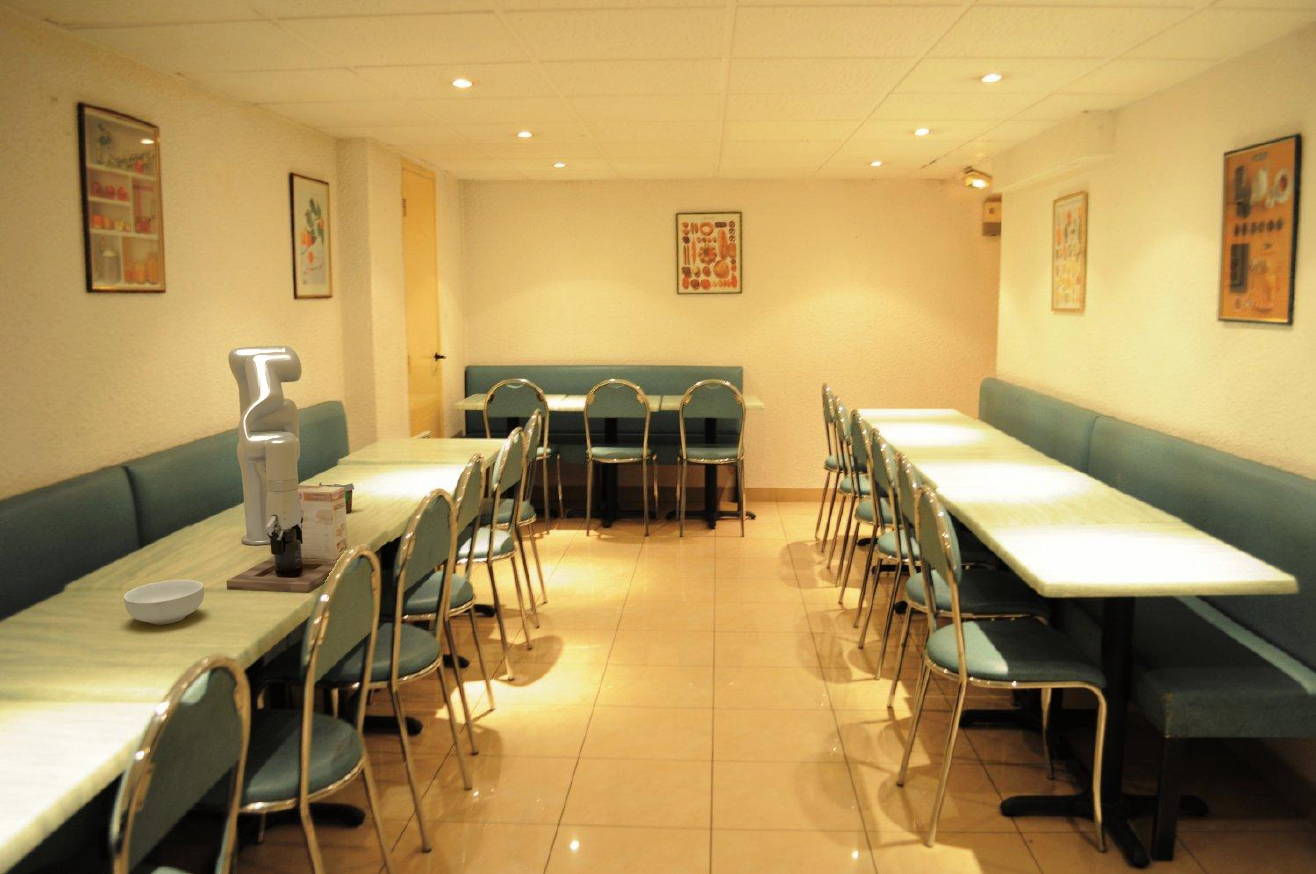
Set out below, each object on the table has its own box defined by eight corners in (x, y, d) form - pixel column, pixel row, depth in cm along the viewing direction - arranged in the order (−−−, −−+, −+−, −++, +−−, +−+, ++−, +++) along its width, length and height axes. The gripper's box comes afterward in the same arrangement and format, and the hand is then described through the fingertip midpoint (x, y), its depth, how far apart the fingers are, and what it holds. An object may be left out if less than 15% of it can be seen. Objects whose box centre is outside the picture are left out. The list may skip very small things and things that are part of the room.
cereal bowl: (150, 607, 248) (147, 579, 247) (218, 607, 247) (216, 578, 246) (111, 631, 231) (108, 601, 230) (184, 631, 231) (181, 601, 229)
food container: (312, 515, 341) (310, 485, 340) (321, 511, 347) (319, 482, 346) (347, 516, 339) (345, 486, 338) (355, 512, 345) (354, 483, 344)
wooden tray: (272, 565, 283) (272, 557, 282) (348, 568, 279) (347, 560, 279) (227, 589, 261) (226, 580, 261) (308, 592, 258) (307, 584, 257)
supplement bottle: (296, 569, 275) (293, 525, 273) (307, 575, 270) (304, 530, 268) (270, 574, 271) (268, 530, 269) (281, 580, 266) (279, 534, 264)
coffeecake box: (349, 554, 294) (345, 486, 291) (335, 560, 287) (331, 491, 284) (303, 550, 298) (299, 484, 295) (288, 557, 291) (284, 489, 288)
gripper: (286, 477, 276) (290, 539, 279) (251, 492, 259) (256, 558, 262) (312, 478, 274) (316, 540, 277) (279, 493, 258) (283, 559, 261)
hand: (287, 549), depth 270 cm, fingers open, 9 cm apart
